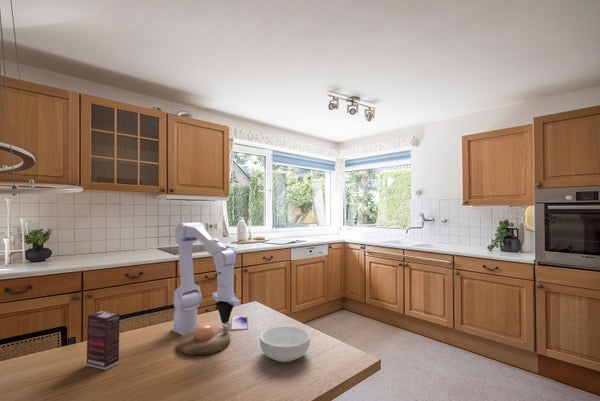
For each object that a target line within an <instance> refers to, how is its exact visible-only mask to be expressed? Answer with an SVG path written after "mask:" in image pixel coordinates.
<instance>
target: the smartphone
mask: <svg viewBox="0 0 600 401" xmlns="http://www.w3.org/2000/svg"><path fill="white" fill-rule="evenodd" d="M248 323H249V320H248V316H247V315H237V316H232V317H231V323H230V331H231V332H234V331H235V332H236V331H237V332H238V331H246V330H247V331H248V330H249V324H248Z"/></svg>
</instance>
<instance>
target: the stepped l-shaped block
mask: <svg viewBox="0 0 600 401" xmlns="http://www.w3.org/2000/svg"><path fill="white" fill-rule="evenodd" d="M224 325H229V331H231V323H230V322H227V323H223V324H222V325H221V326H222V327H223V326H224Z"/></svg>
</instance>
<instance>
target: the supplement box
mask: <svg viewBox="0 0 600 401" xmlns="http://www.w3.org/2000/svg"><path fill="white" fill-rule="evenodd" d="M120 318H121V317H120V313H118V312H117V313H116V312H111V311H104V310H100V311H96V312H93V313H90V314H88V315H87V330H86V332H87V333H86V334H87V337H86V338H87V339H86V341H87V343H86V366H87V367H92V368H96V369H100V370H104V371H106V370H108V369H110V368H112V367H114V366H116V365H118V364H119V361H120V360H119V358H120V322H121V321H120Z"/></svg>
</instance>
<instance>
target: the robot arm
mask: <svg viewBox="0 0 600 401" xmlns="http://www.w3.org/2000/svg"><path fill="white" fill-rule="evenodd" d="M205 227H206V226H205V225H204V223H202V222H201V221H197V222H178V223H177V224H176V227H175V229H174V236H175V237H174V238H175V243H176V244H177V247H178V249H177V250H178V259H179V260H178V262H179V278H180V285H179V286H178V287H177V288H175V290H174V292H173V300H172V302H173V306H174V308H175V310H174V311H173V312H174V313H173V328H171V331H172V332H174V333H177V334H179V335H181V336H183V335H184V334H186V333H188V332H190V331H193V330H194V326H195V325H197V324H198V308H200V304H201V303H202V300H203V296H202V293H201V289H200V288H201V287H200V286H199V285H197V284H196V283H195V276H194V264H193V262H194V261H193V251H192V250H193V246H192V245H193V244H194V243H195V242H197V241H199V242H201V243H202V244H203V245H204V246H205V251H206V252H207V253H208V254H209V255H210V256H211V257H212V258H213V262H214V265H215V271H216V272H217V273H216V275H217V276H216V277H217V278H216V279H217V281H216V282H217V283H216V284H217V286H216V290H217V291H215V292H212V293H211V298H212V299H214V301H216V303H215V305H214V306H215V307H216V308H217V310H218V313H219V314H218V315H219V317H220V321H221V324H224V323H230V317H231V313H232V311H233V309H234V307H239V306H240V304H241V300H240V299H239V298H237V297H236V296H235V295H234V294H235V292H234V291H235V288H234V286H235V285H234V284H235V282H234V281H235V280H234V279H235V272H234V271H235V265H236V264H237V262H238V253H237V252H236V251H235V249H233V248H228V247H226V246H225V245H224V244H223V243H222V242H221V241H220V239H219V238H212V236H211V235H210V234H209V233H208V232H207V231H206V228H205Z"/></svg>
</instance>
